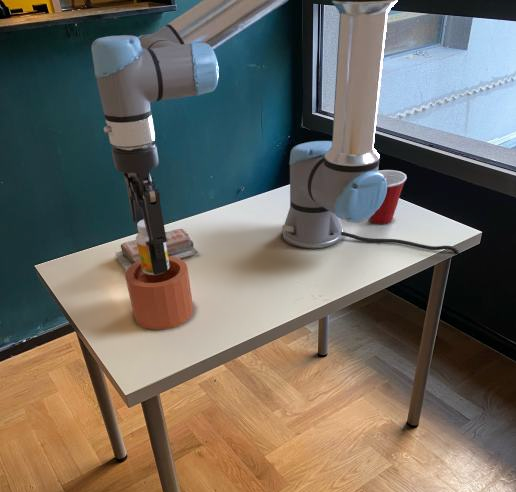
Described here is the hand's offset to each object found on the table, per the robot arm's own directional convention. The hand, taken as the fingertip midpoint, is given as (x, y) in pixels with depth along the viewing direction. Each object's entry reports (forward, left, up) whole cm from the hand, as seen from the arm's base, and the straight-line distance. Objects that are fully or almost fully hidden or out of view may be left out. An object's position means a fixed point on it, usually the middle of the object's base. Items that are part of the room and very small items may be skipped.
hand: (155, 265), depth 100 cm
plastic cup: (-48, -47, -11) cm, 68 cm away
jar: (0, 0, -11) cm, 11 cm away
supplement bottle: (0, 0, -1) cm, 1 cm away
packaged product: (+8, -24, -11) cm, 28 cm away
